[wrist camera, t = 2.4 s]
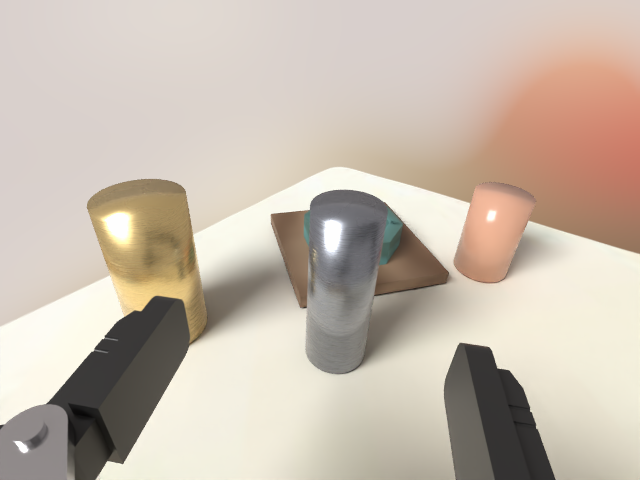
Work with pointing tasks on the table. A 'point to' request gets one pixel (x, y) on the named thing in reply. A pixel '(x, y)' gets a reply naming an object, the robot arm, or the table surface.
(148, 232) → the brass peg
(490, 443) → the robot arm
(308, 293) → the steel peg
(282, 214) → the ring board
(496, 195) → the terracotta peg
